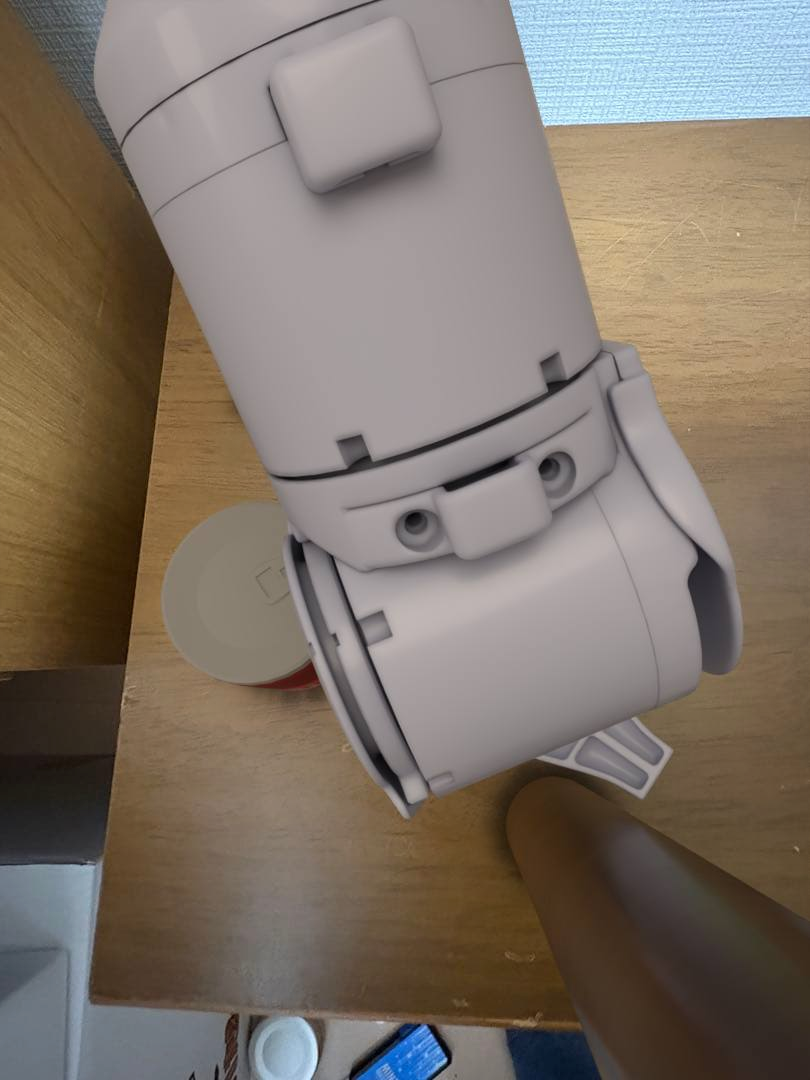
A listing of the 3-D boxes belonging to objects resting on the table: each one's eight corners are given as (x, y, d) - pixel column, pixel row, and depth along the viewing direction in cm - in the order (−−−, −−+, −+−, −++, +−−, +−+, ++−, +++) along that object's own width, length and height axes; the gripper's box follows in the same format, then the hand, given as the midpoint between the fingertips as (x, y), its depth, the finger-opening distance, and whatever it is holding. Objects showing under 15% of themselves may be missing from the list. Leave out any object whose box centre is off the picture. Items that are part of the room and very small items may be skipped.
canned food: (403, 608, 43) (385, 574, 32) (306, 723, 42) (255, 727, 31) (299, 522, 44) (249, 461, 34) (204, 631, 43) (120, 605, 33)
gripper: (204, 607, 24) (295, 643, 37) (620, 915, 21) (557, 835, 34) (343, 422, 25) (382, 522, 38) (756, 696, 22) (643, 701, 35)
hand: (471, 663), depth 36 cm, fingers closed
